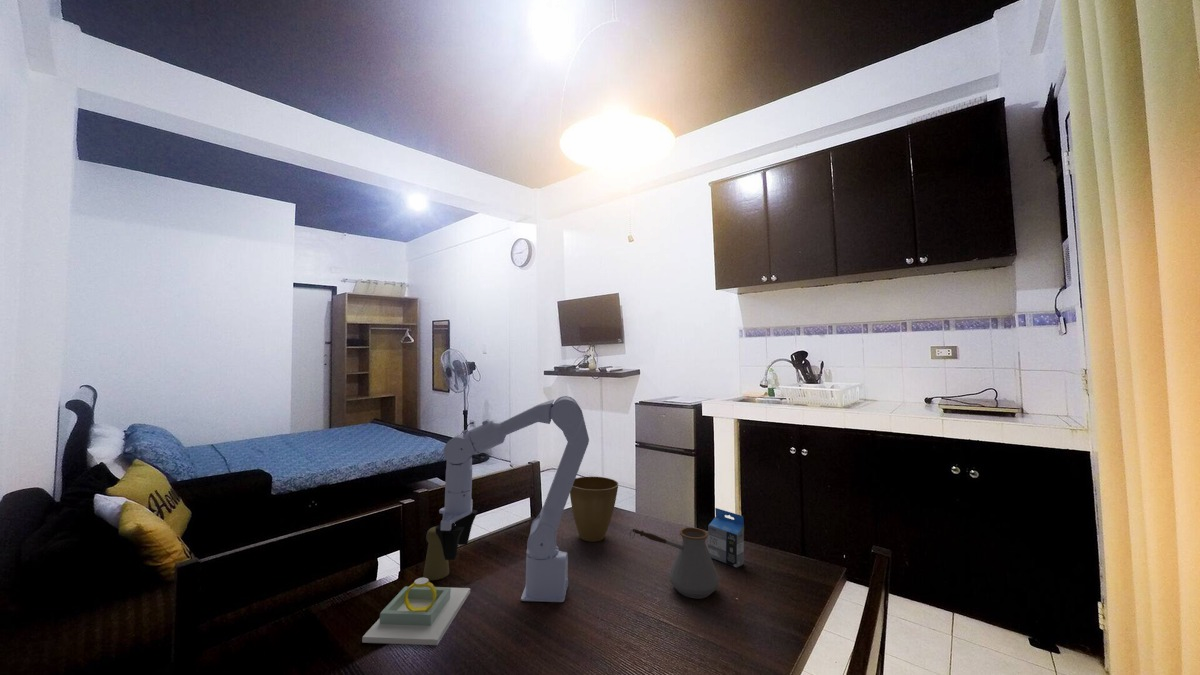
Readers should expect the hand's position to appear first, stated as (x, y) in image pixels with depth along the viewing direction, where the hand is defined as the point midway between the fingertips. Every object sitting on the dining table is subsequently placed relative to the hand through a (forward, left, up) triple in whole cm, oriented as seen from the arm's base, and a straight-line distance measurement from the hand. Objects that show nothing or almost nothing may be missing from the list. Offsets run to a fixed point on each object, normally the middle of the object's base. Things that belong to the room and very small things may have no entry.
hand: (456, 551), depth 97 cm
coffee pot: (-49, -4, -10) cm, 50 cm away
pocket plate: (+4, +8, -9) cm, 13 cm away
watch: (+4, +8, -9) cm, 13 cm away
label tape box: (-65, -21, -10) cm, 69 cm away
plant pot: (-29, -34, -10) cm, 46 cm away
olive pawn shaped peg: (+8, -9, -10) cm, 15 cm away
